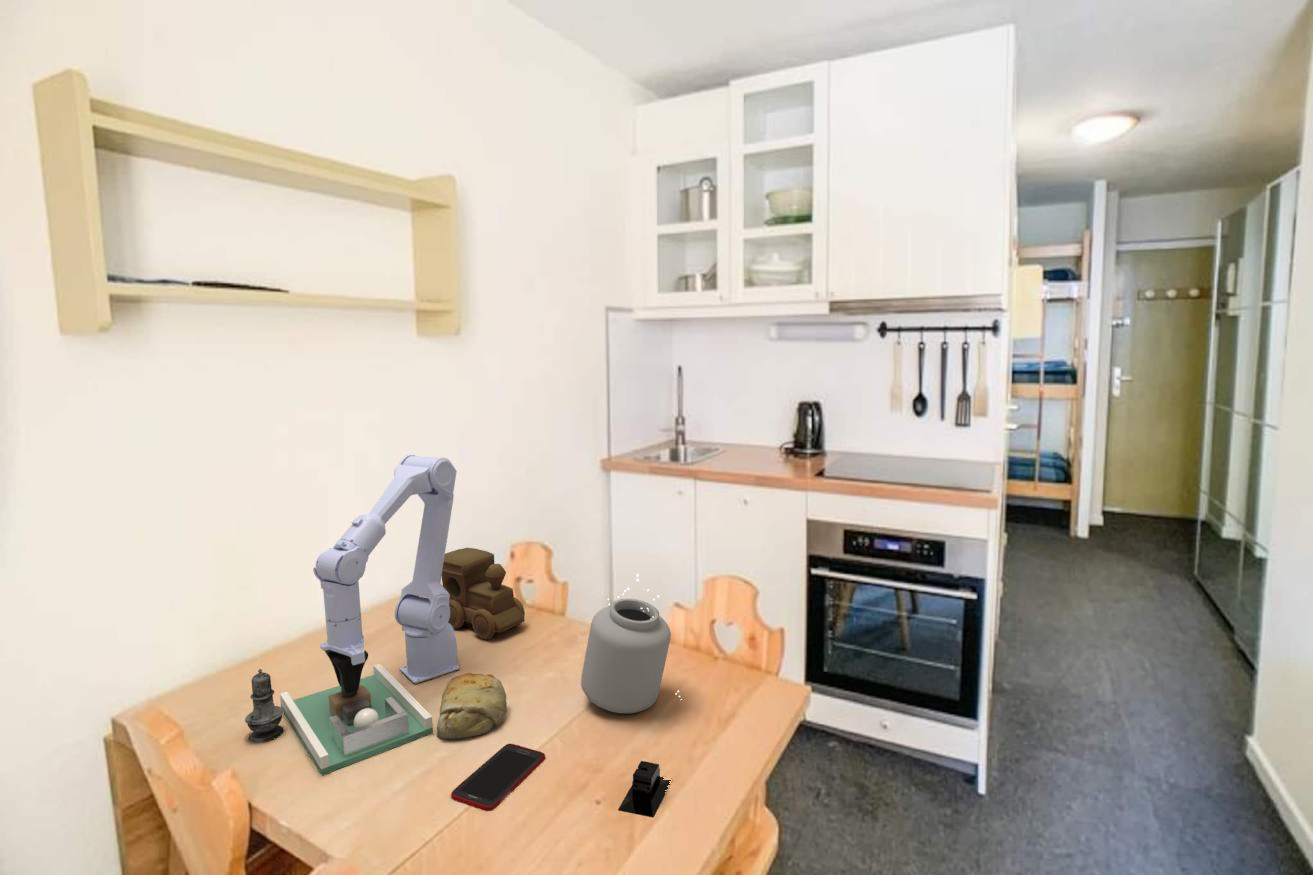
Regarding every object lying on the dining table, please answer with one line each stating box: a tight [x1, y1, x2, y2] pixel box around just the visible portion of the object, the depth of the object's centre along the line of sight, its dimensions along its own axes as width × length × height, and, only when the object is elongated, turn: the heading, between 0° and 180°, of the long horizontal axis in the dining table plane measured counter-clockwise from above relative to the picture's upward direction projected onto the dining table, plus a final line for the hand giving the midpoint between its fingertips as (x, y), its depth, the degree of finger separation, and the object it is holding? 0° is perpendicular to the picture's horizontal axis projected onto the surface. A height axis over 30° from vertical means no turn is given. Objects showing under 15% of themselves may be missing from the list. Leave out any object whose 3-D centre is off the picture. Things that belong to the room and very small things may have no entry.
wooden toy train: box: [441, 547, 525, 641], centre depth 164 cm, size 20×11×17 cm, turn 55°
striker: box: [329, 676, 372, 725], centre depth 125 cm, size 6×7×8 cm
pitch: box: [279, 663, 434, 776], centre depth 125 cm, size 18×26×3 cm
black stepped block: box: [617, 760, 671, 818], centre depth 104 cm, size 12×7×5 cm, turn 161°
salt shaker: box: [244, 668, 285, 744], centre depth 120 cm, size 6×6×12 cm
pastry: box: [436, 672, 508, 740], centre depth 125 cm, size 14×12×8 cm
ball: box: [354, 708, 379, 729], centre depth 120 cm, size 4×4×4 cm
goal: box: [329, 697, 409, 757], centre depth 119 cm, size 10×8×4 cm
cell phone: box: [450, 743, 546, 812], centre depth 109 cm, size 8×15×1 cm, turn 155°
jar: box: [580, 573, 683, 714], centre depth 129 cm, size 19×15×25 cm
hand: (349, 687), depth 126 cm, fingers closed on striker, 3 cm apart
